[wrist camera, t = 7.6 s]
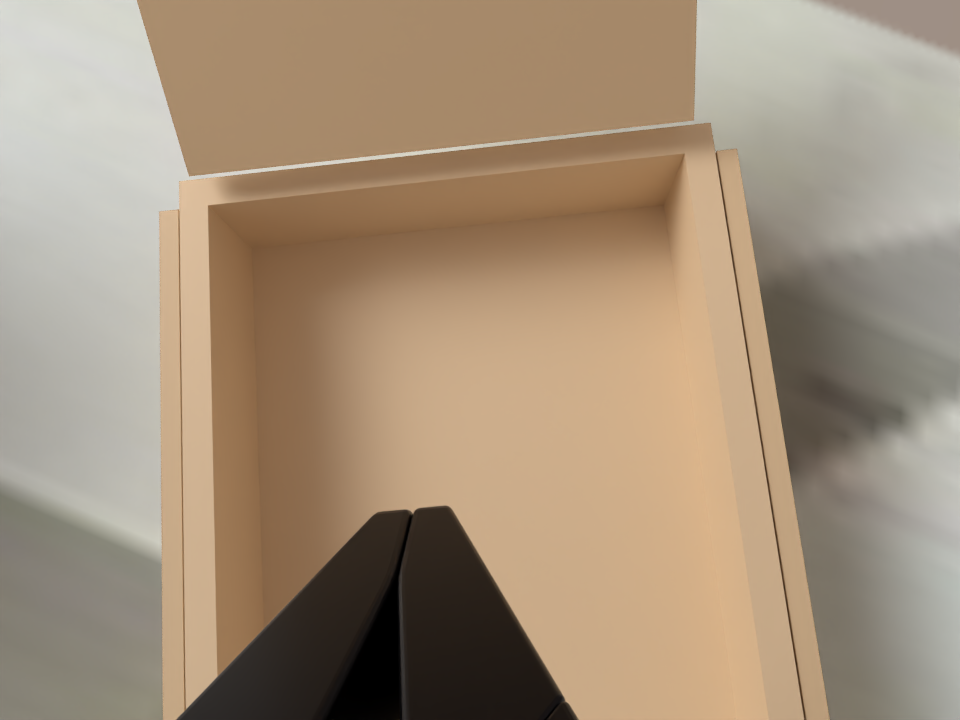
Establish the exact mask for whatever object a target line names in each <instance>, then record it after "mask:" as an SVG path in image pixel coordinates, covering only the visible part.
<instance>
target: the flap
mask: <svg viewBox="0 0 960 720" xmlns="http://www.w3.org/2000/svg"><path fill="white" fill-rule="evenodd" d="M137 2H138V6H139V9H140V12H141V16H142V19H143V23H144V26H145V29H146V33H147V36H148V39H149V43H150V46H151V50H152V53H153V56H154V60H155V63H156V66H157V70H158V73H159V76H160V80H161V83H162V87H163V90H164V93H165V97H166V100H167V103H168V107H169V110H170V113H171V117H172V120H173V124H174V127H175V130H176V134H177V137H178V140H179V144H180V147H181V151H182V154H183V157H184V161H185V164H186V167H187V171H188V174H189V176H195V175H204V174H213V173H222V172H231V171H240V170H249V169H258V168H267V167H277V166H286V165H295V164H304V163H313V162H322V161H331V160H340V159H349V158H358V157H367V156H376V155H385V154H394V153H403V152H412V151H421V150H430V149H439V148H448V147H457V146H466V145H475V144H484V143H493V142H502V141H511V140H520V139H529V138H538V137H548V136H557V135H566V134H575V133H584V132H593V131H602V130H611V129H620V128H629V127H638V126H647V125H656V124H665V123H674V122H683V121H692V120H694V96H695V56H696V15H697V0H137Z"/></svg>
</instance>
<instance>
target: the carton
mask: <svg viewBox="0 0 960 720" xmlns="http://www.w3.org/2000/svg"><path fill="white" fill-rule="evenodd" d="M179 210H180V211H179ZM179 210H170V211H160V212H159V231H160V370H161V510H162V649H163V720H176V719H177V718H178V717H179V716H180V715H181V714H182V713H183V712H184V711H185V710H186V709H187V708H188V707H189V706H190V705H191V704H192V702H193V701H194V700H195V699H196V698H197V697H198V696H199V695H200V694H201V693H202V692H203V691H204V690H205V689H206V688H207V687H208V686H209V685H210V684H211V683H212V682H213V681H214V680H215V679H216V678H217V677H218V675H219V674H220V673H221V672H222V671H223V670H224V669H225V668H226V667H227V666H228V665H229V664H230V663H231V662H232V661H233V660H234V659H235V658H236V657H237V656H238V655H239V654H240V653H241V652H242V651H243V650H244V648H245V647H246V646H247V645H248V644H249V643H250V642H251V641H252V640H253V639H254V638H255V637H256V636H257V635H258V634H259V633H260V632H261V631H262V630H263V629H264V628H265V627H266V626H267V625H268V624H269V622H270V621H271V620H272V619H273V618H274V617H275V616H276V615H277V614H278V613H279V612H280V611H281V610H282V609H283V608H284V607H285V606H286V605H287V604H288V603H289V602H290V601H291V600H292V599H293V598H294V597H295V595H296V594H297V593H298V592H299V591H300V590H301V589H302V588H303V587H304V586H305V585H306V584H307V583H308V582H309V581H310V580H311V579H312V578H313V577H314V576H315V575H316V574H317V573H318V572H319V571H320V570H321V568H322V567H323V566H324V565H325V564H326V563H327V562H328V561H329V560H330V559H331V558H332V557H333V556H334V555H335V554H336V553H337V552H338V551H339V550H340V549H341V548H342V547H343V546H344V545H345V544H346V543H347V541H348V540H349V539H350V538H351V537H352V536H353V535H354V534H355V533H356V532H357V531H358V530H359V529H360V528H361V527H362V526H363V525H364V524H365V523H366V522H367V521H368V520H369V519H370V518H371V517H372V516H373V515H374V514H376V513H377V512H382V511H392V510H402V509H408V510H410V511H411V512H412V513H414V511H415V510H416V509H418V508H423V507H434V506H444V505H446V506H449V507H451V508H452V510H453V511H454V513H455V515H456V516H457V518H458V520H459V521H460V523H461V525H462V526H463V528H464V530H465V531H466V533H467V535H468V536H469V538H470V540H471V541H472V543H473V545H474V547H475V548H476V550H477V552H478V553H479V555H480V557H481V558H482V560H483V562H484V563H485V565H486V567H487V568H488V570H489V572H490V573H491V575H492V577H493V578H494V580H495V582H496V583H497V585H498V587H499V588H500V590H501V592H502V594H503V595H504V597H505V599H506V600H507V602H508V604H509V605H510V607H511V609H512V610H513V612H514V614H515V615H516V617H517V619H518V620H519V622H520V624H521V625H522V627H523V629H524V630H525V632H526V634H527V636H528V637H529V639H530V641H531V642H532V644H533V646H534V647H535V649H536V651H537V652H538V654H539V656H540V657H541V659H542V661H543V662H544V664H545V666H546V667H547V669H548V671H549V672H550V674H551V676H552V677H553V679H554V681H555V683H556V684H557V686H558V688H559V689H560V691H561V693H562V694H563V696H564V698H565V701H566V702H567V703H569V704H570V706H571V708H572V709H573V711H574V713H575V714H576V716H577V718H578V719H579V720H830V718H829V712H828V705H827V699H826V693H825V687H824V681H823V675H822V669H821V662H820V656H819V650H818V644H817V638H816V632H815V626H814V619H813V613H812V607H811V601H810V595H809V589H808V583H807V576H806V570H805V564H804V558H803V552H802V546H801V540H800V533H799V527H798V521H797V515H796V509H795V503H794V497H793V490H792V484H791V478H790V472H789V466H788V460H787V454H786V447H785V441H784V435H783V429H782V423H781V417H780V411H779V404H778V398H777V392H776V386H775V380H774V374H773V368H772V361H771V355H770V349H769V343H768V337H767V331H766V325H765V319H764V312H763V306H762V300H761V294H760V288H759V282H758V276H757V269H756V263H755V257H754V251H753V245H752V239H751V233H750V226H749V220H748V214H747V208H746V202H745V196H744V190H743V183H742V177H741V171H740V165H739V159H738V153H737V149H730V150H721V151H717V152H716V154H715V148H714V141H713V135H712V129H711V123H703V124H694V125H685V126H676V127H667V128H658V129H649V130H640V131H631V132H622V133H613V134H604V135H595V136H586V137H577V138H568V139H559V140H550V141H541V142H531V143H522V144H513V145H504V146H495V147H486V148H477V149H468V150H459V151H450V152H441V153H432V154H423V155H414V156H405V157H396V158H387V159H378V160H369V161H359V162H350V163H341V164H332V165H323V166H314V167H305V168H296V169H287V170H278V171H269V172H260V173H251V174H242V175H233V176H224V177H215V178H206V179H196V180H187V181H179Z"/></svg>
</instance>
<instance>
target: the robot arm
mask: <svg viewBox="0 0 960 720" xmlns="http://www.w3.org/2000/svg"><path fill="white" fill-rule="evenodd" d="M176 720H579V719H578V718H577V716H576V714H575V713H574V711H573V709H572V708H571V706H570V704H569V703H567V702H566V701H565V698H564V696H563V694H562V693H561V691H560V689H559V688H558V686H557V684H556V683H555V681H554V679H553V677H552V676H551V674H550V672H549V671H548V669H547V667H546V666H545V664H544V662H543V661H542V659H541V657H540V656H539V654H538V652H537V651H536V649H535V647H534V646H533V644H532V642H531V641H530V639H529V637H528V636H527V634H526V632H525V630H524V629H523V627H522V625H521V624H520V622H519V620H518V619H517V617H516V615H515V614H514V612H513V610H512V609H511V607H510V605H509V604H508V602H507V600H506V599H505V597H504V595H503V594H502V592H501V590H500V588H499V587H498V585H497V583H496V582H495V580H494V578H493V577H492V575H491V573H490V572H489V570H488V568H487V567H486V565H485V563H484V562H483V560H482V558H481V557H480V555H479V553H478V552H477V550H476V548H475V547H474V545H473V543H472V541H471V540H470V538H469V536H468V535H467V533H466V531H465V530H464V528H463V526H462V525H461V523H460V521H459V520H458V518H457V516H456V515H455V513H454V511H453V510H452V508H451V507H449V506H446V505H444V506H434V507H423V508H418V509H416V510H415V511H414V513H412V512H411V511H410V510H408V509H402V510H392V511H382V512H377V513H376V514H374V515H373V516H372V517H371V518H370V519H369V520H368V521H367V522H366V523H365V524H364V525H363V526H362V527H361V528H360V529H359V530H358V531H357V532H356V533H355V534H354V535H353V536H352V537H351V538H350V539H349V540H348V541H347V543H346V544H345V545H344V546H343V547H342V548H341V549H340V550H339V551H338V552H337V553H336V554H335V555H334V556H333V557H332V558H331V559H330V560H329V561H328V562H327V563H326V564H325V565H324V566H323V567H322V568H321V570H320V571H319V572H318V573H317V574H316V575H315V576H314V577H313V578H312V579H311V580H310V581H309V582H308V583H307V584H306V585H305V586H304V587H303V588H302V589H301V590H300V591H299V592H298V593H297V594H296V595H295V597H294V598H293V599H292V600H291V601H290V602H289V603H288V604H287V605H286V606H285V607H284V608H283V609H282V610H281V611H280V612H279V613H278V614H277V615H276V616H275V617H274V618H273V619H272V620H271V621H270V622H269V624H268V625H267V626H266V627H265V628H264V629H263V630H262V631H261V632H260V633H259V634H258V635H257V636H256V637H255V638H254V639H253V640H252V641H251V642H250V643H249V644H248V645H247V646H246V647H245V648H244V650H243V651H242V652H241V653H240V654H239V655H238V656H237V657H236V658H235V659H234V660H233V661H232V662H231V663H230V664H229V665H228V666H227V667H226V668H225V669H224V670H223V671H222V672H221V673H220V674H219V675H218V677H217V678H216V679H215V680H214V681H213V682H212V683H211V684H210V685H209V686H208V687H207V688H206V689H205V690H204V691H203V692H202V693H201V694H200V695H199V696H198V697H197V698H196V699H195V700H194V701H193V702H192V704H191V705H190V706H189V707H188V708H187V709H186V710H185V711H184V712H183V713H182V714H181V715H180V716H179V717H178V718H177V719H176Z"/></svg>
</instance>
